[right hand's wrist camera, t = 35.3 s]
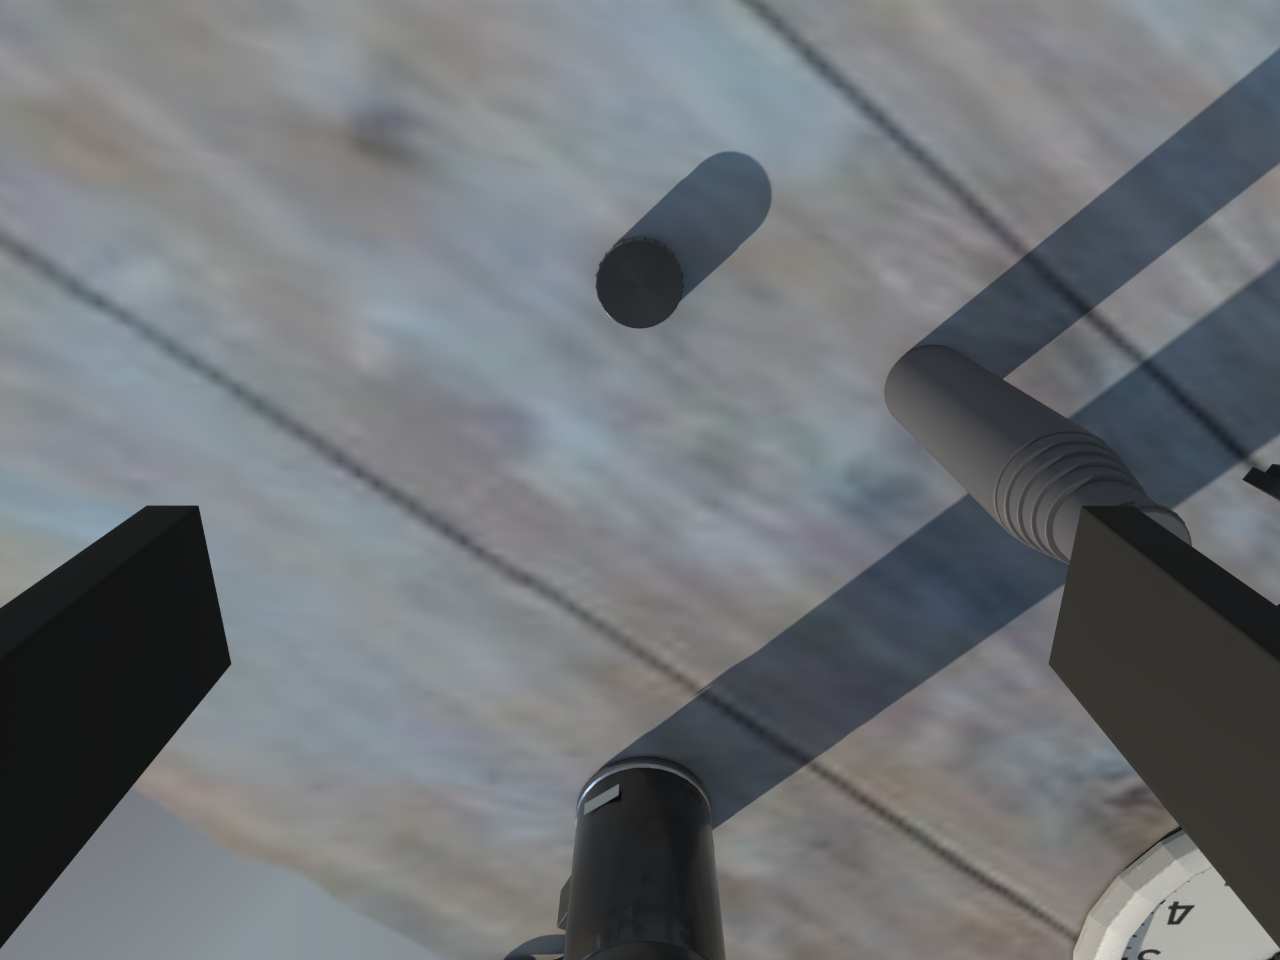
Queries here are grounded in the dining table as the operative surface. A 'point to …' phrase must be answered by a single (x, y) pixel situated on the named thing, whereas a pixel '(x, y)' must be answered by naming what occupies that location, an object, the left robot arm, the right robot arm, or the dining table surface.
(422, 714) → the dining table surface
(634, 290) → the cap
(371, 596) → the dining table surface
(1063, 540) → the bottle
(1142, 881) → the wall clock
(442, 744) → the dining table surface
